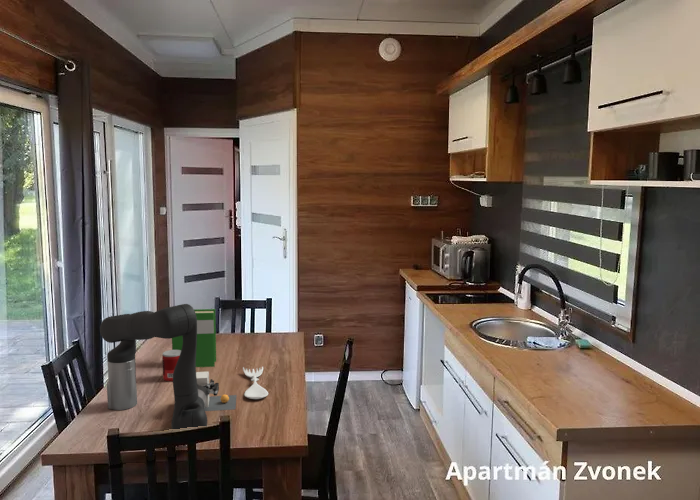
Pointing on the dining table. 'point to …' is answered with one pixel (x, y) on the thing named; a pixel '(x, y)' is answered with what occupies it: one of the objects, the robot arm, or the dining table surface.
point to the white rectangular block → (203, 381)
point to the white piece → (255, 385)
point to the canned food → (169, 363)
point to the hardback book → (202, 338)
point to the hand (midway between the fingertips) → (199, 382)
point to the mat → (221, 403)
